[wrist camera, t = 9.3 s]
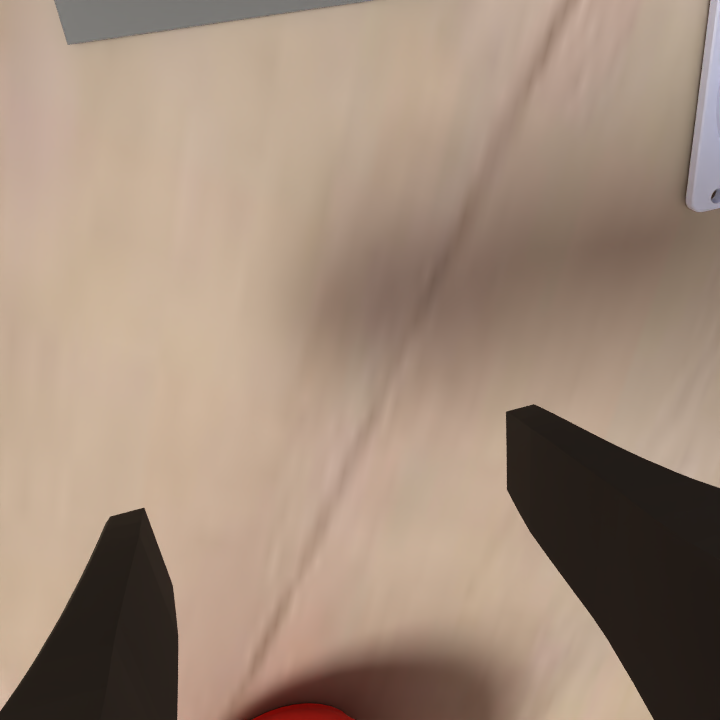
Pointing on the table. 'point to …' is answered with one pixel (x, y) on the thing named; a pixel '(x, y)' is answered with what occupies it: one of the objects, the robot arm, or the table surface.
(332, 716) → the ceramic cup
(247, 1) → the mat
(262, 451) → the table surface
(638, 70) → the table surface
